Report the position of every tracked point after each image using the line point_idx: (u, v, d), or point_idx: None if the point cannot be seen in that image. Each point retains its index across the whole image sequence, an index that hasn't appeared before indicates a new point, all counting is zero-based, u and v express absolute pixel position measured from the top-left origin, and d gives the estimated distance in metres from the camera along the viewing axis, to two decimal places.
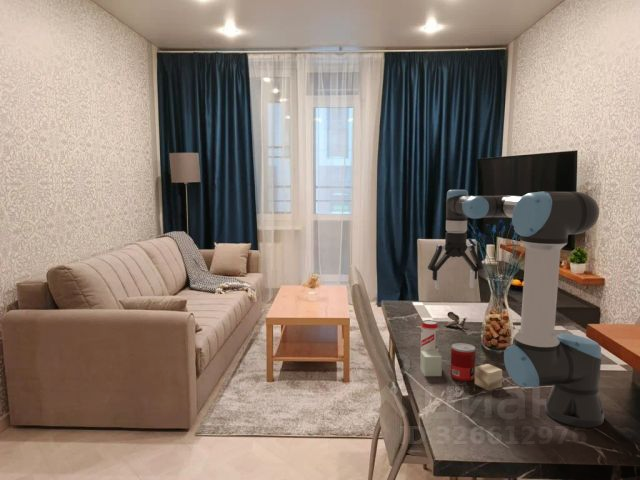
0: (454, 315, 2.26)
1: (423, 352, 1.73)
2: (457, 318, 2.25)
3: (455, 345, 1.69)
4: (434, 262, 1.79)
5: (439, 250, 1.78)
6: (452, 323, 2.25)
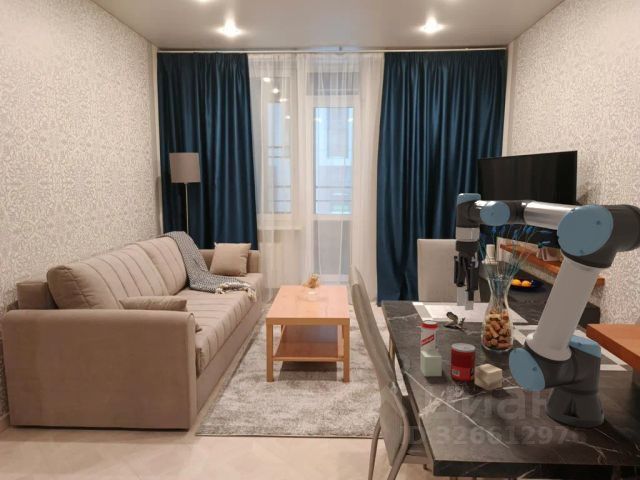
0: (453, 315, 2.27)
1: (423, 352, 1.73)
2: (456, 318, 2.25)
3: (455, 345, 1.69)
4: (454, 274, 1.70)
5: (454, 261, 1.69)
6: (451, 323, 2.25)
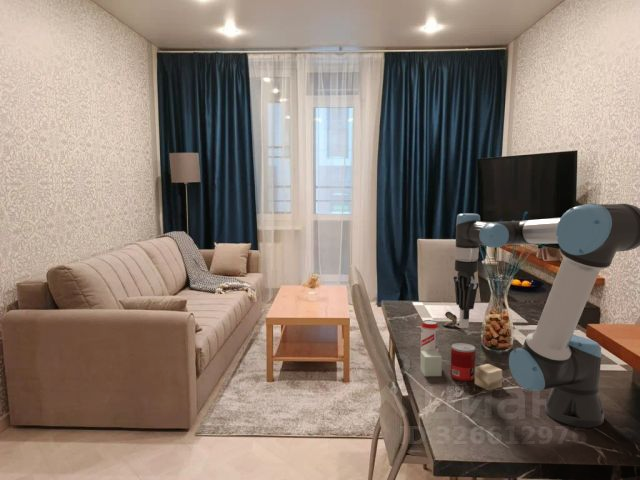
0: (451, 315, 2.27)
1: (423, 352, 1.73)
2: (455, 318, 2.25)
3: (455, 345, 1.69)
4: (456, 295, 1.69)
5: (454, 281, 1.70)
6: (450, 323, 2.25)
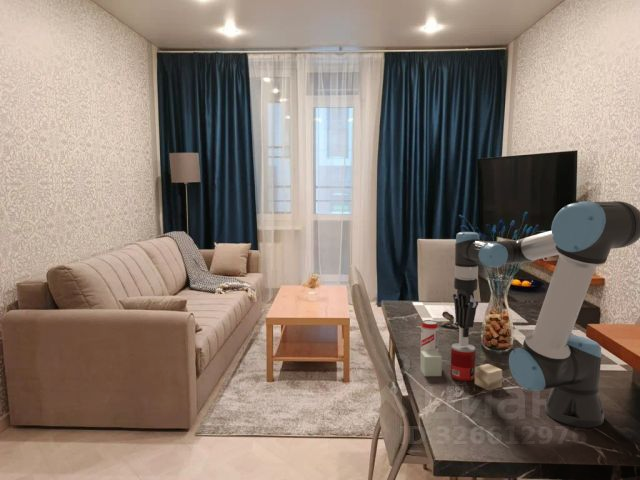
0: (449, 314, 2.27)
1: (423, 352, 1.73)
2: (452, 318, 2.26)
3: (455, 345, 1.69)
4: (456, 313, 1.69)
5: (454, 299, 1.70)
6: (447, 323, 2.25)
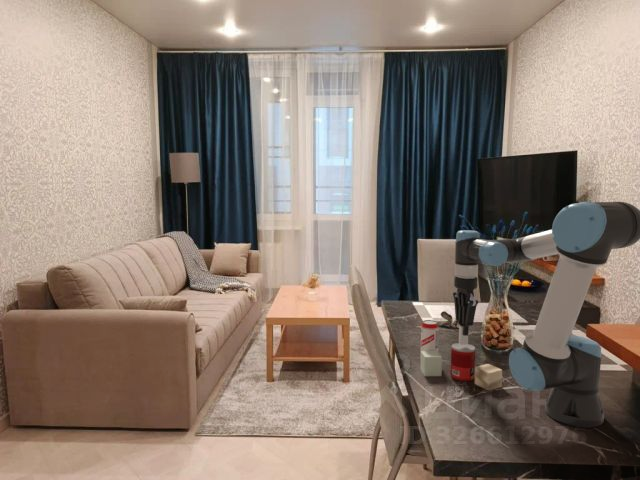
0: (447, 314, 2.27)
1: (423, 352, 1.73)
2: (450, 318, 2.26)
3: (455, 345, 1.69)
4: (455, 311, 1.69)
5: (454, 297, 1.70)
6: (445, 323, 2.26)
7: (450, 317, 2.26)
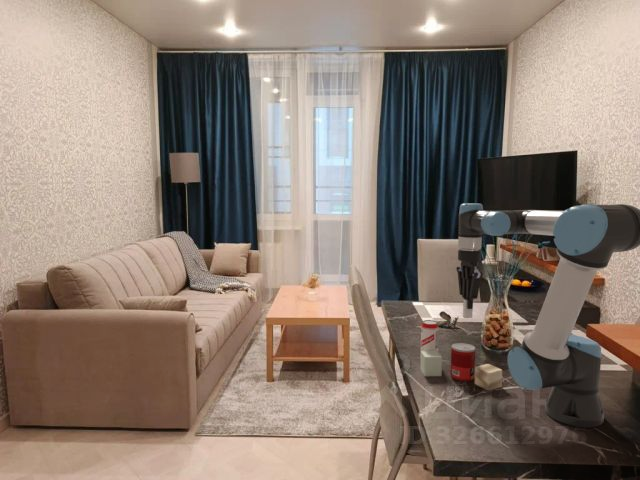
0: (446, 314, 2.27)
1: (423, 352, 1.73)
2: (449, 318, 2.26)
3: (455, 345, 1.69)
4: (459, 285, 1.69)
5: (457, 272, 1.70)
6: (444, 323, 2.26)
7: (449, 317, 2.26)
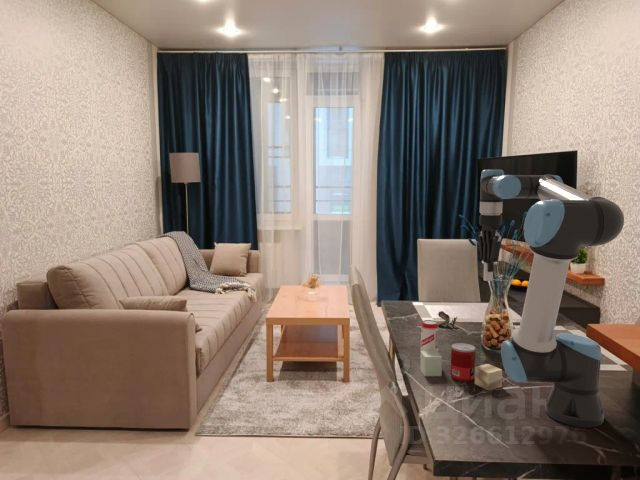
0: (444, 314, 2.27)
1: (423, 352, 1.73)
2: (447, 318, 2.26)
3: (455, 345, 1.69)
4: (480, 250, 1.75)
5: (478, 237, 1.76)
6: (442, 322, 2.26)
7: (447, 317, 2.26)
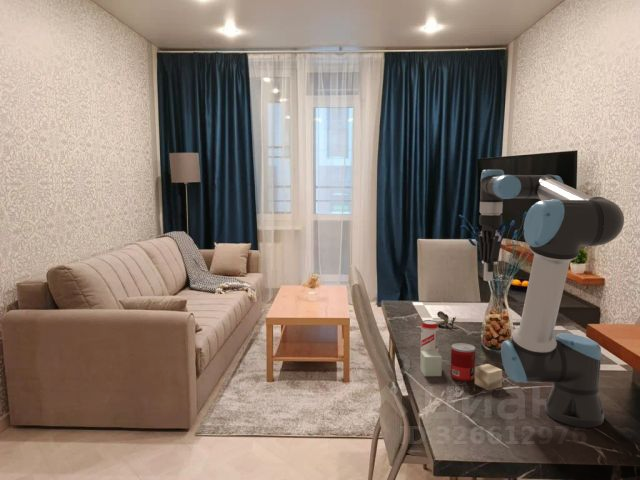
0: (443, 314, 2.27)
1: (423, 352, 1.73)
2: (446, 317, 2.26)
3: (455, 345, 1.69)
4: (480, 250, 1.75)
5: (478, 237, 1.76)
6: (441, 322, 2.26)
7: (446, 317, 2.26)
